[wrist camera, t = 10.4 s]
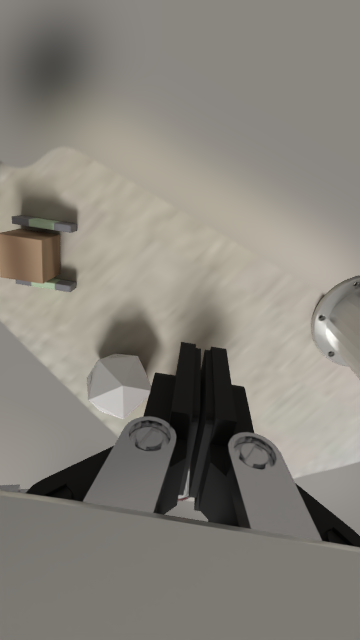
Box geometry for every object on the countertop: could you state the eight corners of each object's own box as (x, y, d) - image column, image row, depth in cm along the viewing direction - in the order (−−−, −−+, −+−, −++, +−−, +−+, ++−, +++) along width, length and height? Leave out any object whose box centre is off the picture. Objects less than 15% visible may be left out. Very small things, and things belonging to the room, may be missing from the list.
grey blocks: (77, 224, 38) (70, 225, 37) (76, 287, 42) (70, 292, 40) (21, 215, 38) (11, 216, 37) (24, 279, 42) (15, 283, 40)
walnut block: (60, 234, 39) (41, 240, 35) (60, 273, 41) (42, 283, 36) (21, 228, 39) (-4, 233, 35) (23, 267, 41) (0, 277, 37)
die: (140, 332, 44) (80, 355, 37) (175, 382, 42) (118, 417, 35) (119, 361, 50) (63, 385, 43) (149, 407, 47) (95, 440, 41)
